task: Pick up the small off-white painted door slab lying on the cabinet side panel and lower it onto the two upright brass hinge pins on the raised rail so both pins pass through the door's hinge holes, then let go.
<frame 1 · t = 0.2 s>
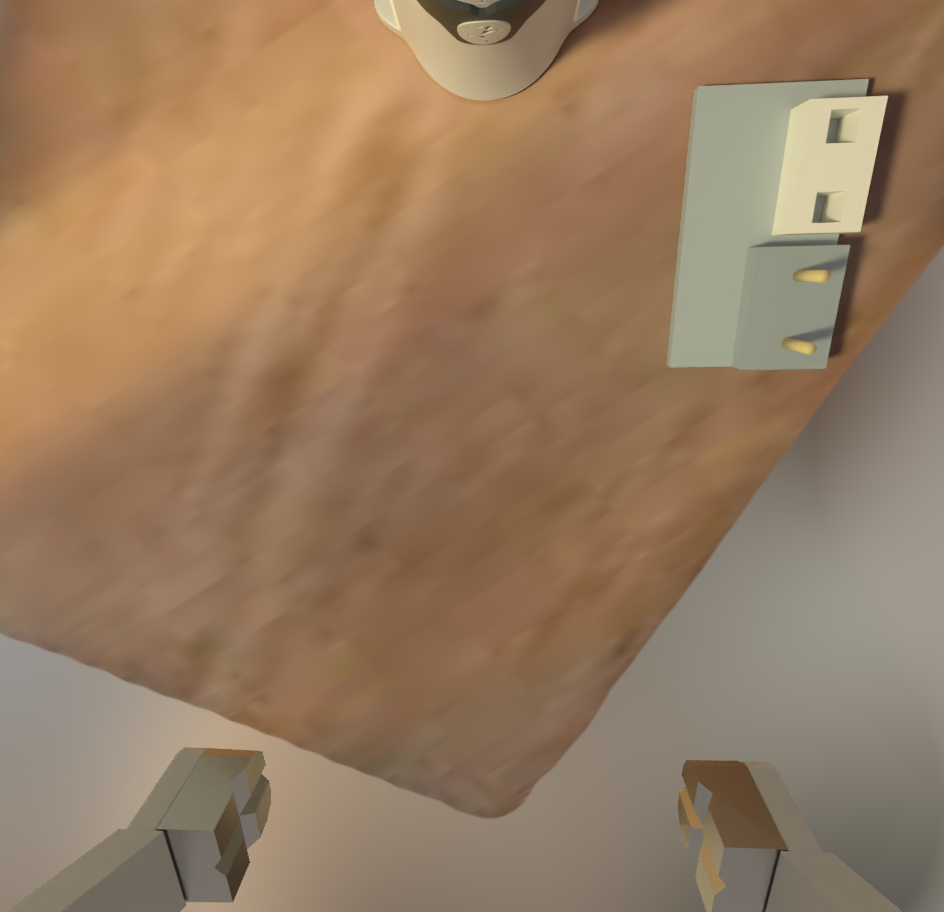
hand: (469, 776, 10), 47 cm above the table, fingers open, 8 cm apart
cabinet side: (754, 236, 50), on the table
door: (815, 173, 47), point 1 cm above the table, touching cabinet side
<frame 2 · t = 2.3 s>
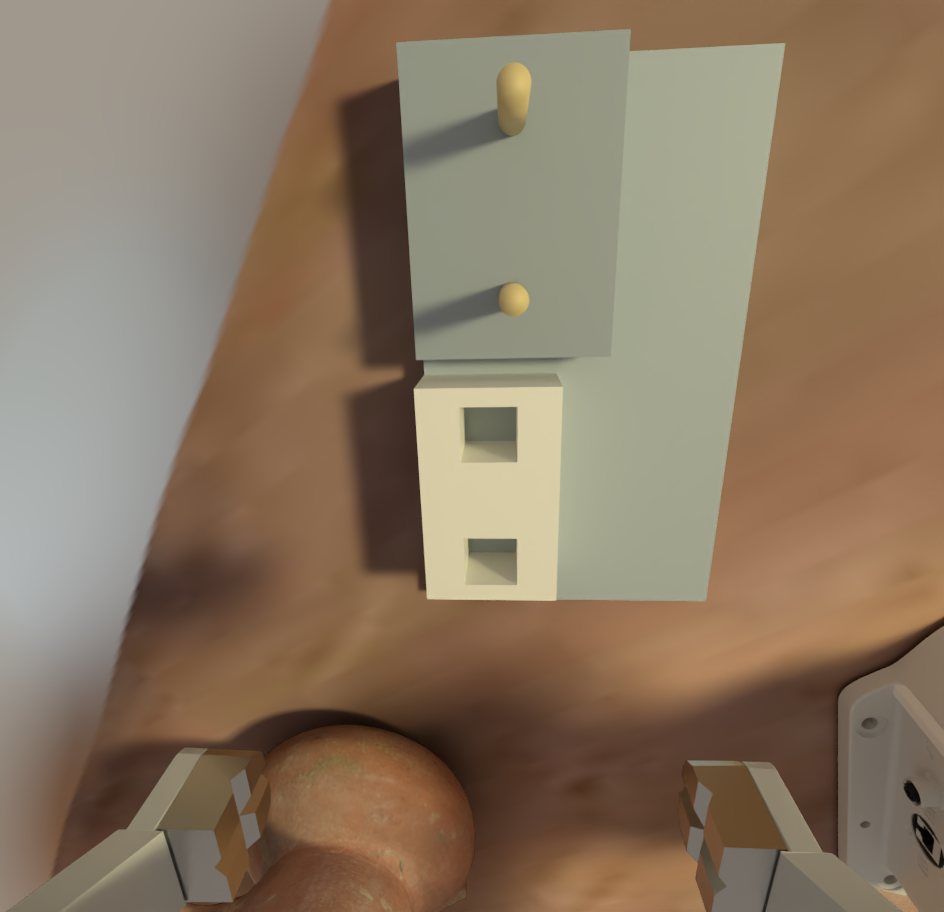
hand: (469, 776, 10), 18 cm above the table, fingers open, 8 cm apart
cabinet side: (575, 367, 25), on the table
ceramic jug: (360, 777, 35), on the table
door: (491, 475, 26), point 1 cm above the table, touching cabinet side
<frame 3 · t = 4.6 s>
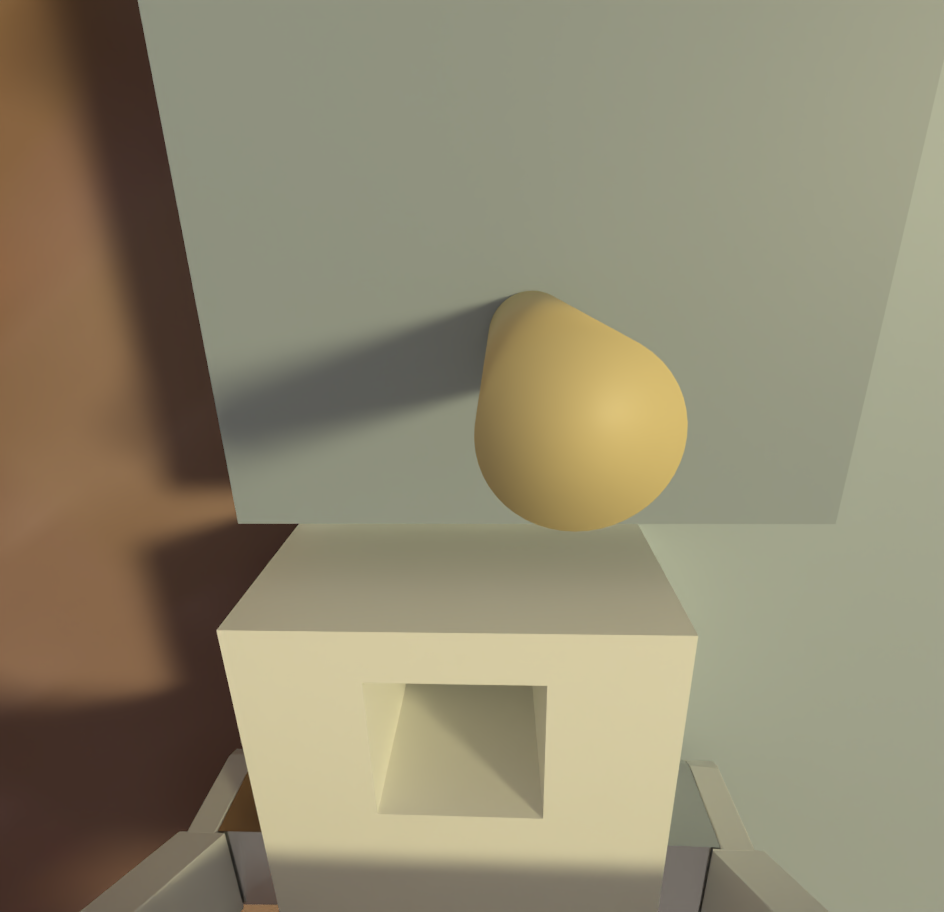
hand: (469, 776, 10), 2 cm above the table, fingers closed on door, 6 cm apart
cabinet side: (673, 494, 10), on the table
door: (472, 737, 11), point 1 cm above the table, touching cabinet side, gripper
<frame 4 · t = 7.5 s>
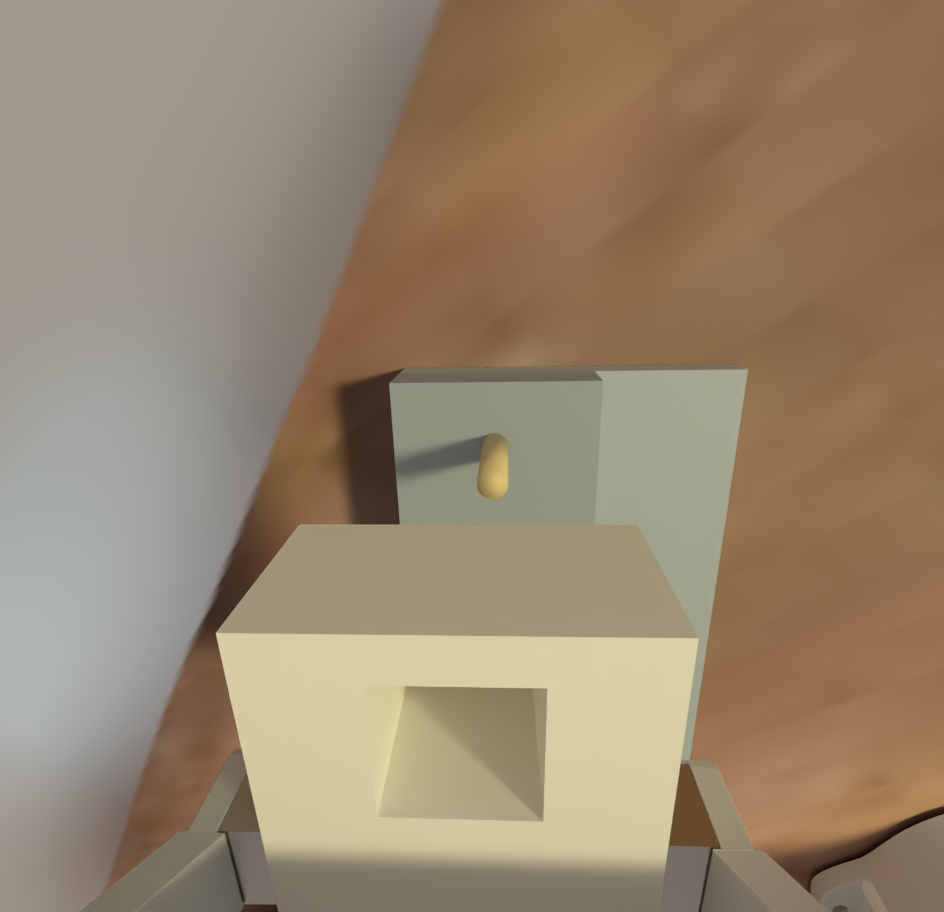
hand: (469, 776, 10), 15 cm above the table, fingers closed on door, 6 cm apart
cabinet side: (558, 605, 27), on the table
door: (472, 739, 11), point 14 cm above the table, touching gripper
when the fingers open (5 cm above the table, at t = 10.3 s): door stays where it is, resting on cabinet side.
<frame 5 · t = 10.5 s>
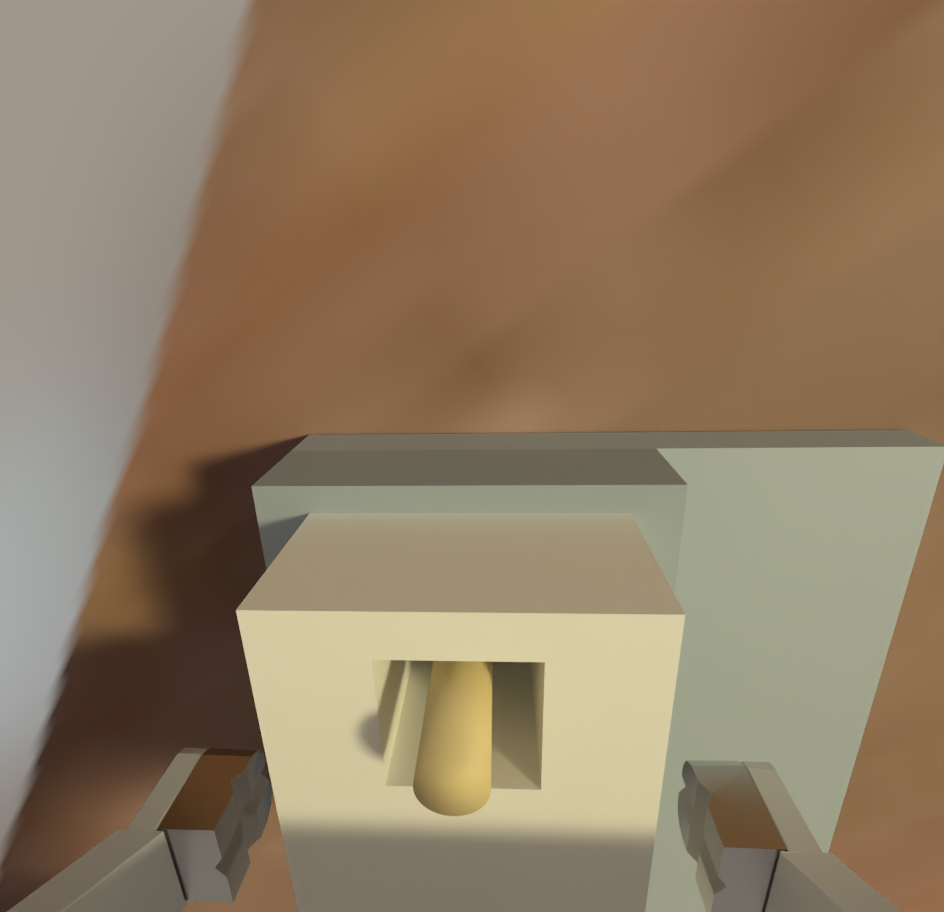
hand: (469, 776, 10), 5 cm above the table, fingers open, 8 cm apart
cabinet side: (576, 798, 17), on the table
door: (473, 720, 12), point 3 cm above the table, touching cabinet side
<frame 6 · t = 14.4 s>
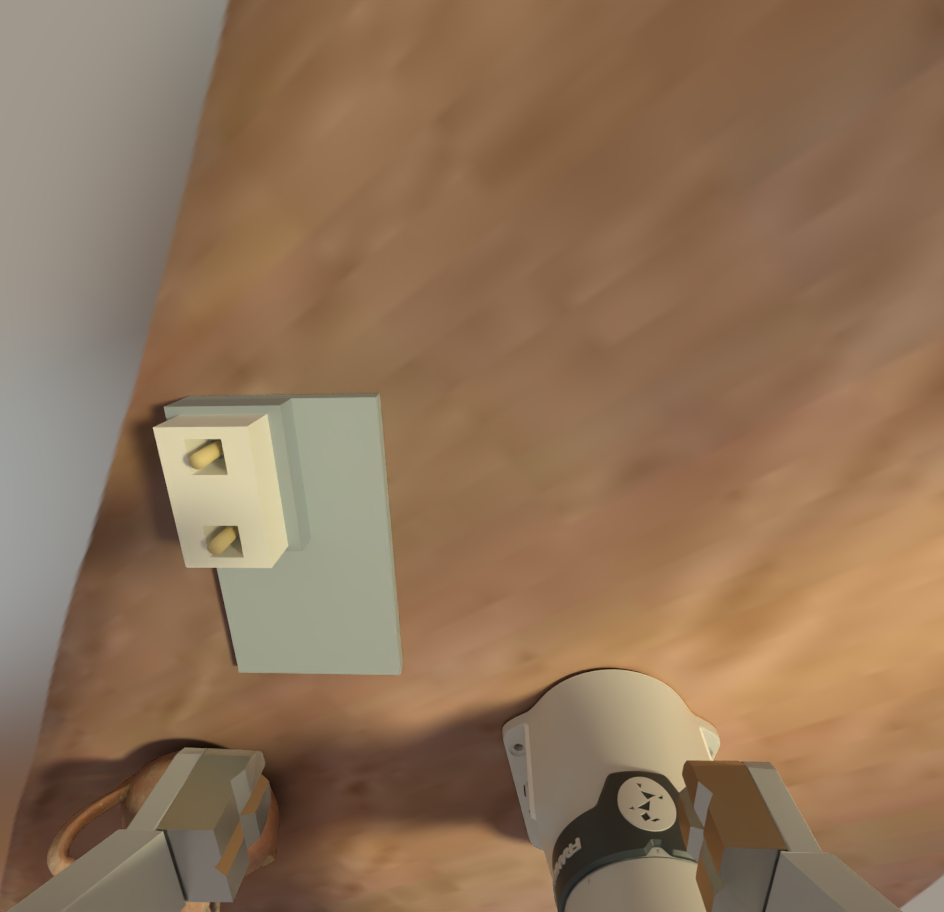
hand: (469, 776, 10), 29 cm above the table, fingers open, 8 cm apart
cabinet side: (305, 542, 42), on the table
ceramic jug: (213, 782, 52), on the table
door: (236, 483, 37), point 3 cm above the table, touching cabinet side
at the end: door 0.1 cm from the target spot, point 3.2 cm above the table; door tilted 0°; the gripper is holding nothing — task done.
